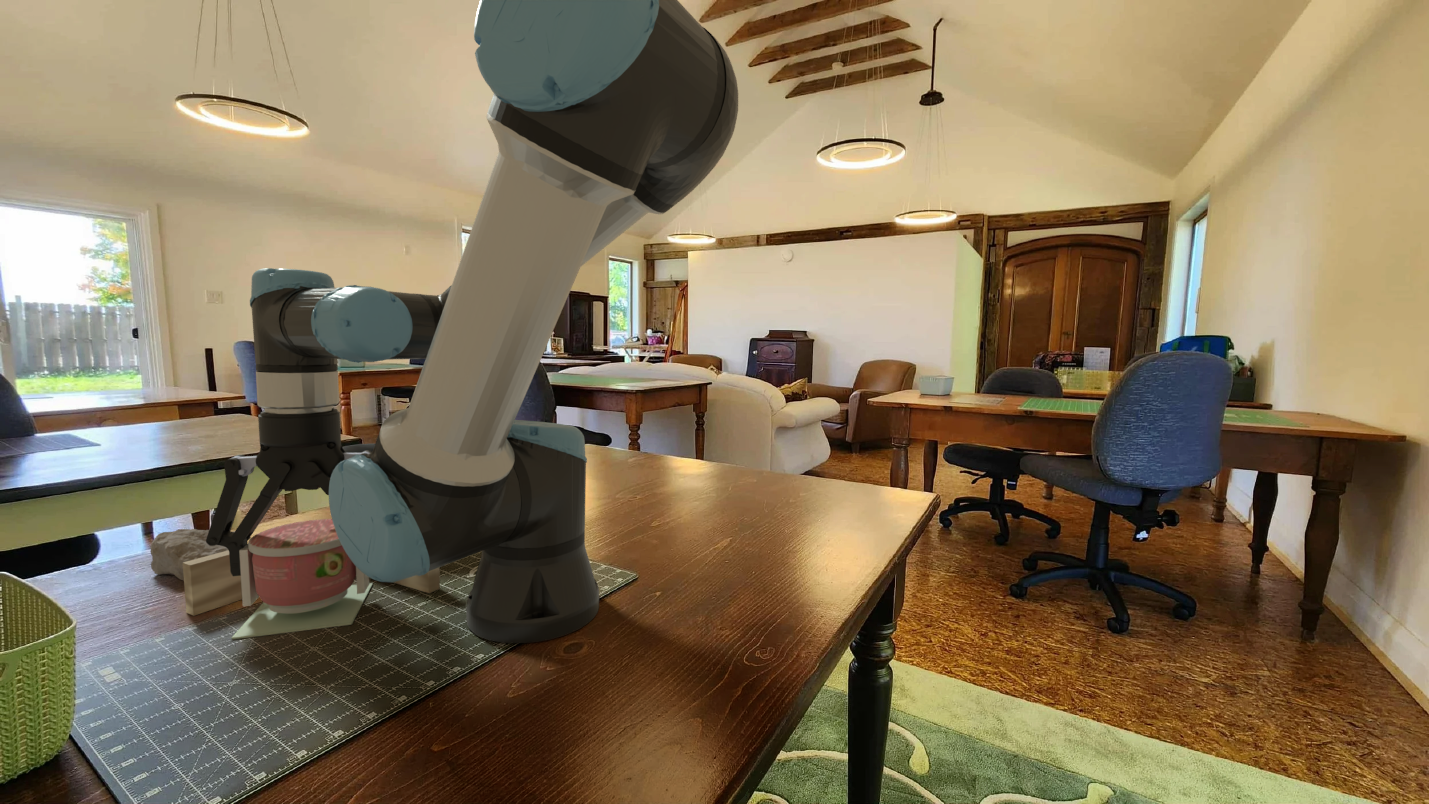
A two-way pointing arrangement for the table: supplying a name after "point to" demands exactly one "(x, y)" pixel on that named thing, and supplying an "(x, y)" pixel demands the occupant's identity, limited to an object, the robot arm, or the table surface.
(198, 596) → the corner walls
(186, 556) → the stone
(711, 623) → the table surface
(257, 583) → the container
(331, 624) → the plate
